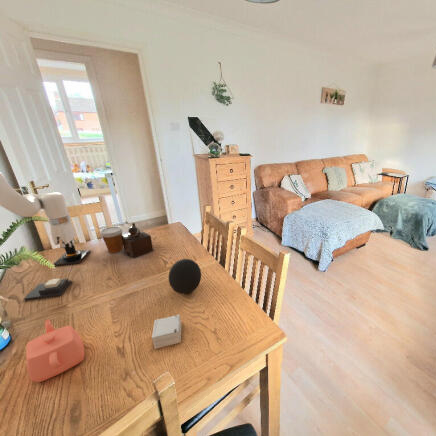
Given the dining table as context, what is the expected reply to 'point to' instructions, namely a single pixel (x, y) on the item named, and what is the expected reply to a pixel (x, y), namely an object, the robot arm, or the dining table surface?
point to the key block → (72, 258)
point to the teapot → (53, 352)
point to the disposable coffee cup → (112, 239)
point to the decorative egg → (184, 276)
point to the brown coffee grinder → (136, 242)
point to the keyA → (52, 283)
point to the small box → (166, 331)
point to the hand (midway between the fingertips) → (71, 253)
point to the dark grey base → (48, 291)
